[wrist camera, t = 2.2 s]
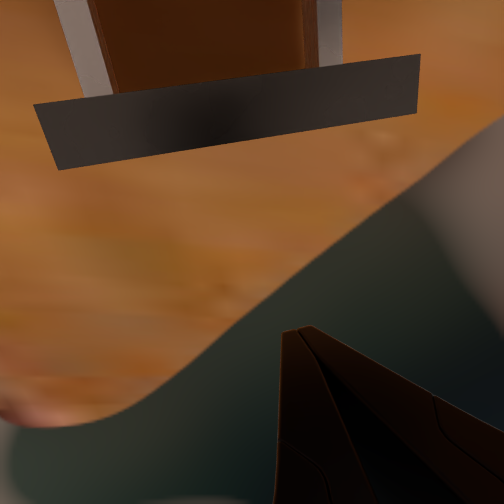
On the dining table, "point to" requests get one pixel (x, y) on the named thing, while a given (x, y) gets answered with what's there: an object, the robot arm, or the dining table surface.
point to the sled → (218, 96)
